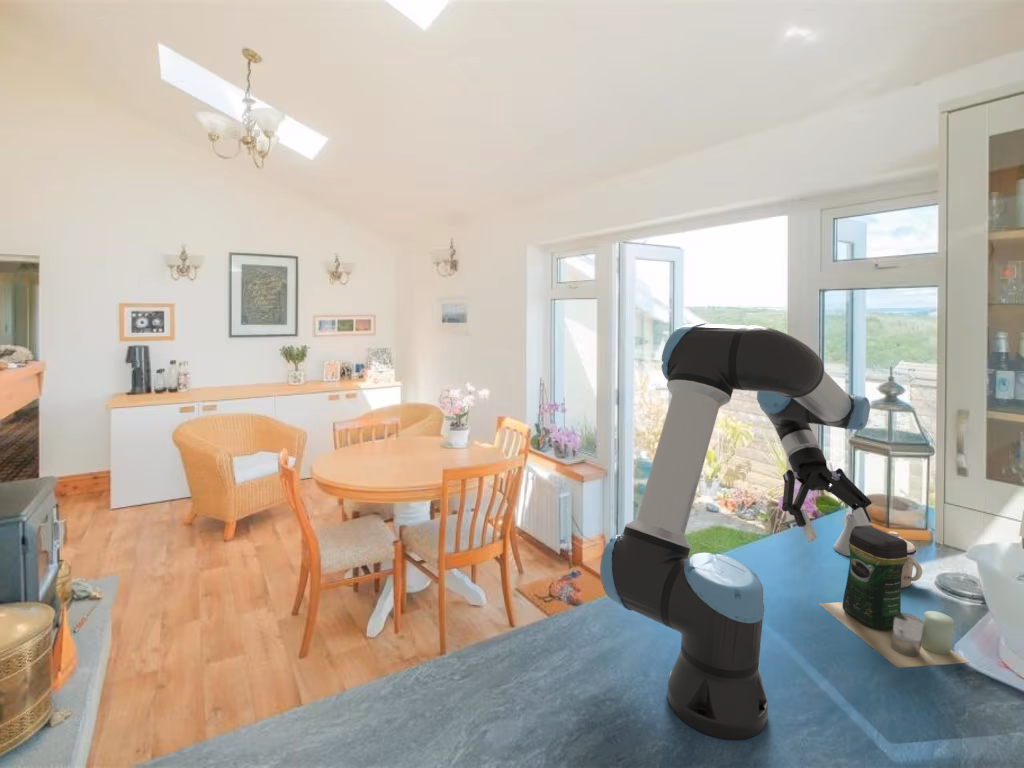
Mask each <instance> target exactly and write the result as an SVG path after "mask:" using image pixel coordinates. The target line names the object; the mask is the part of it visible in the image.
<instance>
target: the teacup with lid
mask: <svg viewBox="0 0 1024 768" xmlns="http://www.w3.org/2000/svg"><path fill="white" fill-rule="evenodd" d="M888 534H890V535H893V536H895V537H897V538H900V539H903V540H904V541H905V542H906V543H907V560H906V562H905V564H904V566H903V570H902V576H901V589H902V588H908V587H910V586H911V584H912V582H916V581H918V580H920V578H921V577H922V575H923V569H922V566H921V564H920V562H918V561H916V560H915V554H916V553H917V549H916V546H915V545H914V544H913V543H912V542H910V541H908V540H906V539H904V538H902V537H901V536H900V534H899V532H897V531H888ZM914 568H915V575H914V576H913V569H914Z"/></svg>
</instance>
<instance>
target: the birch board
mask: <svg viewBox="0 0 1024 768" xmlns="http://www.w3.org/2000/svg"><path fill="white" fill-rule="evenodd" d="M818 605H819V606H820V607H822V608H823V609H824V610H825V611H827V612H828V613H829V614H830V615H831V616H833V617H834V618H835V619H837V620H838V622H840V624H842V625H844V626H845V627H846V628H847V629H849V630H850V631H851V632H852V633H853V634H855V635H856V636H857V637H858V638H860V639H861V640H862V641H864V642H865V643H866V644H867V645H868V646H870V647H871V648H872V649H874V651H876V652H877V653H878V654H879V655H880V656H882V657H883V658H885V659H886V661H889V663H891V664H892V666H894V667H895V668H898V669H900V668H913V667H925V666H926V667H927V666H928V667H930V666H941V665H943V666H944V665H954V664H955V665H957V664H969V663H970V662H969V661H968V660H966V659H965V658H963V657H962V656H961V655H959V654H958V653H956V652H955V651H953V650H952V649H951V648H950V653H949V654H948V655H938V654H934V653H932V652H929V651H927V650H926V649H924V648H923V647H922V646H921V649H920V655H919V656H918V657H908V656H904V655H901V654H899V653H897V652H896V651H894V650H893V649H892V648H891V638H892V630H880V629H873V628H870V627H867V626H866V625H864V624H862V623H860V622H859V621H857V620H856V619H854V618H853V617H851V616H850V615H848V614H847V613H846V612H845V611H844V609H843V607H842V606H843V601H839V602H838V601H836V602H821V603H818Z"/></svg>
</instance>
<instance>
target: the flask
mask: <svg viewBox="0 0 1024 768" xmlns="http://www.w3.org/2000/svg"><path fill="white" fill-rule="evenodd" d="M845 517H846V522H845V523H844V524H845V525H844V528H843V529H842V532H841V533H840V535H839V536H838V537H837V540H836V542H834V545H833V549H834V551H835V552H837V553H839V554H840V555H843V556H846V557H850V550H849V539H850V535H851V531H852V529H853V528H854V527H855V526H858V524H857V521H856V519H855V517H854V515H853V513H846V514H845Z"/></svg>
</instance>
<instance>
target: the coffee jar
mask: <svg viewBox="0 0 1024 768" xmlns="http://www.w3.org/2000/svg"><path fill="white" fill-rule="evenodd" d="M888 533H889V532H888ZM888 533H887V532H885V531H884V530H881V529H879V528H876V527H874V526H873V525H864V526H855V527H854V528H853V529H852V531H851V535H850V539H849V550H850V556H849V564H848V565H849V566H848V570H847V578H846V584H845V588H844V593H843V599H842V602H843V606H842V607H843V609H844V611H845V612H846V613H847V614H848V615H850V616H851V617H853V618H854V619H856V620H857V621H859V622H860V623H862V624H864V625H866V626H867V627H870V628H873V629H880V630H892V629H893V621H894V614H896V613H902V612H901V610H902V609H901V607H902V606H901V604H902V603H901V597H902V595H901V594H902V591H901V590H902V588H901V576H902V570H903V566H904V564H905V562H906V560H907V543H906V542H905V541H904V540H905V539H904V538H903V539H904V540H903V539H900V538H897V537H895V536H893V535H890V534H888Z"/></svg>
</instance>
